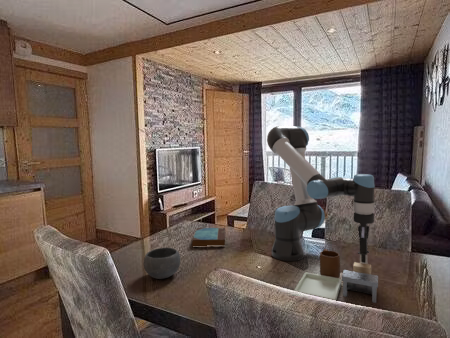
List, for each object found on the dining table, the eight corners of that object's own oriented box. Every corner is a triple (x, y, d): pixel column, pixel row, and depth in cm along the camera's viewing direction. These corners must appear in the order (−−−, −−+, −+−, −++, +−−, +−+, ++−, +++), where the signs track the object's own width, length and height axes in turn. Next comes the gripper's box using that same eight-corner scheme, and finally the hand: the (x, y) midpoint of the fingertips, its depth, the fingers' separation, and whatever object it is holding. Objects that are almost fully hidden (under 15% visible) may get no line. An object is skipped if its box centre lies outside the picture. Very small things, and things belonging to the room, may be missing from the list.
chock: (353, 280, 110) (353, 265, 109) (354, 276, 113) (354, 262, 113) (370, 284, 107) (370, 268, 106) (371, 279, 110) (371, 264, 110)
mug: (315, 267, 122) (315, 246, 122) (333, 268, 122) (333, 246, 121) (322, 280, 110) (322, 257, 110) (342, 281, 110) (342, 257, 109)
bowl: (163, 287, 108) (162, 262, 108) (137, 279, 116) (135, 255, 116) (188, 272, 121) (187, 249, 120) (162, 265, 129) (161, 244, 128)
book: (225, 248, 151) (224, 239, 151) (192, 249, 151) (191, 240, 151) (225, 235, 174) (225, 227, 174) (196, 236, 174) (196, 228, 174)
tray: (293, 296, 99) (293, 290, 99) (305, 276, 114) (305, 272, 114) (335, 305, 93) (335, 299, 93) (341, 283, 107) (341, 278, 107)
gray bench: (341, 295, 99) (341, 276, 98) (344, 285, 106) (344, 267, 106) (377, 303, 93) (377, 282, 93) (378, 291, 101) (378, 272, 100)
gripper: (373, 216, 108) (373, 277, 109) (374, 210, 119) (374, 264, 120) (352, 215, 111) (352, 273, 113) (354, 208, 123) (354, 261, 124)
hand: (363, 268), depth 117 cm, fingers closed
